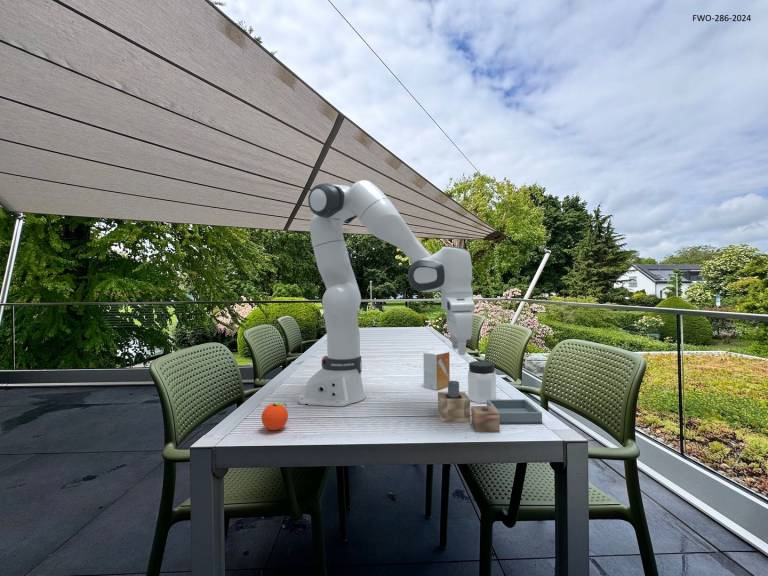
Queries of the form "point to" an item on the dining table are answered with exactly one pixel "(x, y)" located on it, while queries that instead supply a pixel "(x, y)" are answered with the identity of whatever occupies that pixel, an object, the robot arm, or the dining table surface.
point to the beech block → (453, 408)
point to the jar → (481, 381)
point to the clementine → (274, 416)
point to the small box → (436, 369)
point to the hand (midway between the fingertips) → (458, 351)
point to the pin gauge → (453, 390)
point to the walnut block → (485, 419)
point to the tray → (516, 411)
